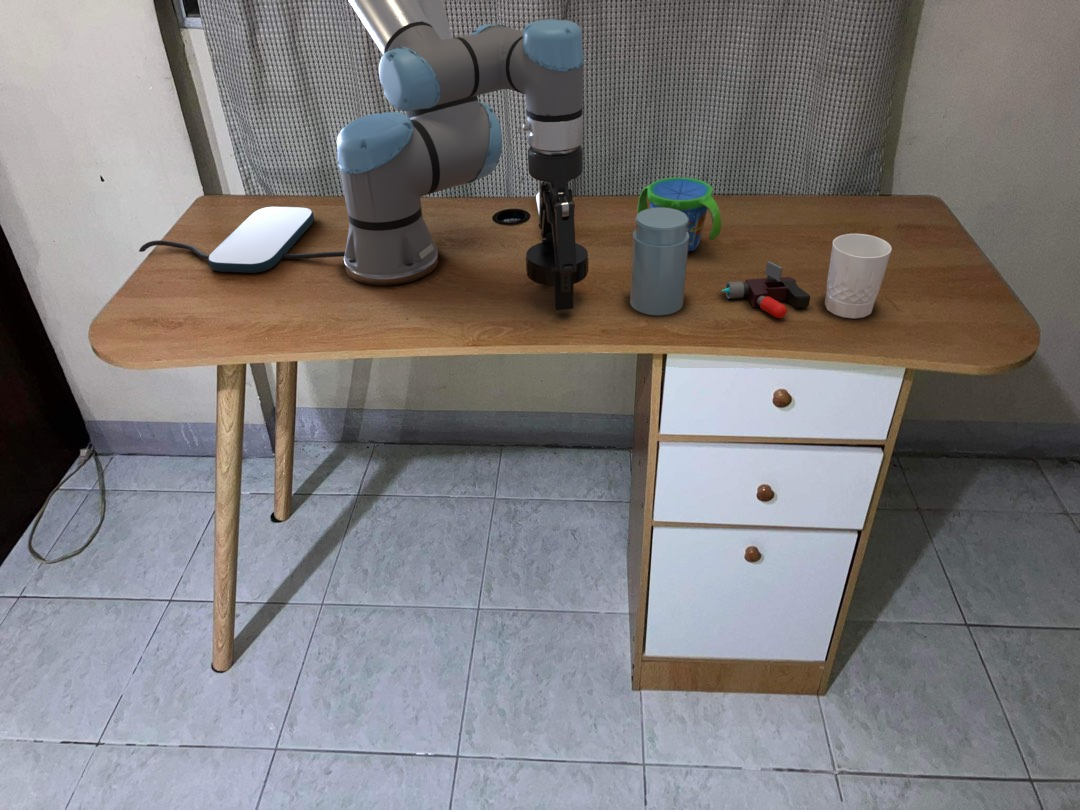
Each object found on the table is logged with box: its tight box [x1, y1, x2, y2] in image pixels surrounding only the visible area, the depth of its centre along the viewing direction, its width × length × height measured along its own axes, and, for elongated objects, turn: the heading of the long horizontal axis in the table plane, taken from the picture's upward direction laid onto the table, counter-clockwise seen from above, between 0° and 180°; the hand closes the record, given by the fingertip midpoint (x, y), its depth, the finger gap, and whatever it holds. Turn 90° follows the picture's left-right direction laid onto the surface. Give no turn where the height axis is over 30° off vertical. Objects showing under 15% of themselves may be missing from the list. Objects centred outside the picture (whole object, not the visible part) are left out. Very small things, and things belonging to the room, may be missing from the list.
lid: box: [525, 241, 589, 287], centre depth 123 cm, size 9×9×3 cm
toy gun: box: [720, 260, 811, 319], centre depth 122 cm, size 10×12×5 cm
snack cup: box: [636, 176, 722, 253], centre depth 138 cm, size 16×10×10 cm
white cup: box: [824, 233, 893, 320], centre depth 119 cm, size 8×8×10 cm
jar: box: [629, 207, 689, 316], centre depth 121 cm, size 8×8×14 cm
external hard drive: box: [207, 206, 315, 274], centre depth 145 cm, size 24×12×2 cm, turn 172°
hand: (557, 293), depth 126 cm, fingers closed on lid, 9 cm apart
